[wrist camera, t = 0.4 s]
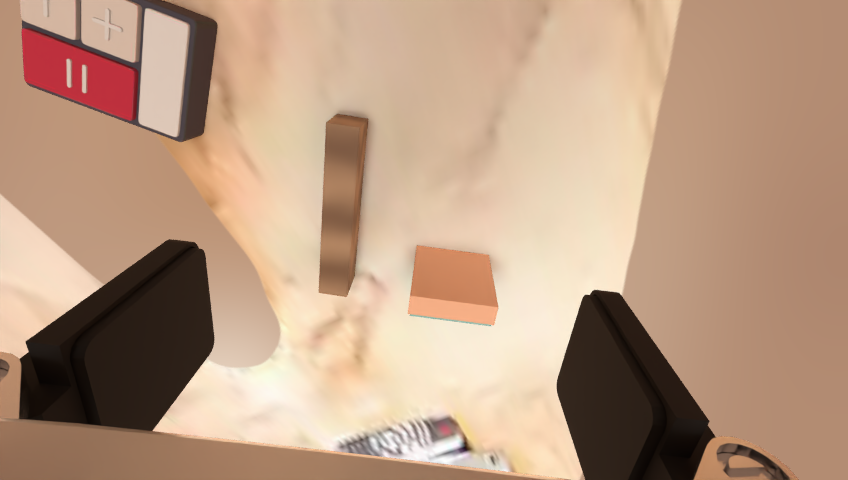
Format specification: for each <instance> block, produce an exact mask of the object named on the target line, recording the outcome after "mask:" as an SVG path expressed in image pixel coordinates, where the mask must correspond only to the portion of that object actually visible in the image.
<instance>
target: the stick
mask: <svg viewBox="0 0 848 480" xmlns="http://www.w3.org/2000/svg"><path fill="white" fill-rule="evenodd" d="M367 125H368V119H366V118H359V117H353V116H347V115H340V114H337V115H335V116H334V117H333V118H332V119H330V120H329V121H328V122H326V139H325V162H324V185H323V207H322V230H321V253H320V275H319V293H324V294H331V295H337V296H344V297H347V295H348V292H349V290H350V287H351V284H352V282H353V279H354V276H355V264H356V253H357V241H358V229H359V218H360V206H361V194H362V183H363V171H364V159H365V148H366V136H367Z"/></svg>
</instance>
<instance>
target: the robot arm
mask: <svg viewBox="0 0 848 480" xmlns="http://www.w3.org/2000/svg"><path fill="white" fill-rule="evenodd" d="M26 345H27V348H28V351H29V352H28V353H27V354H26V355H24V356H23V357H22V358H20V359H19V358H18V357H16V356H14V355H13V354H10V353H4V352H0V480H569V479H562V478H554V477H546V476H538V475H529V474H521V473H513V472H505V471H496V470H488V469H480V468H471V467H463V466H455V465H447V464H438V463H430V462H422V461H413V460H404V459H396V458H387V457H379V456H370V455H361V454H353V453H344V452H335V451H326V450H318V449H309V448H300V447H291V446H283V445H274V444H265V443H256V442H246V441H237V440H228V439H219V438H210V437H200V436H191V435H182V434H173V433H164V432H155V431H153V429H154V428H155V427H156V425H157V424H158V423H159V421H160V420H161V419H162V417H163V416H164V415H165V413H166V412H167V411H168V409H169V408H170V407H171V405H172V404H173V403H174V401H175V400H176V399H177V397H178V396H179V395H180V393H181V392H182V391H183V389H184V388H185V387H186V385H187V384H188V382H189V381H190V380H191V378H192V377H193V376H194V374H195V373H196V372H197V370H198V369H199V368H200V366H201V365H202V364H203V362H204V361H205V360H206V358H207V357H208V356H209V354H210V353H211V351H212V349H213V345H214V332H213V321H212V313H211V303H210V294H209V285H208V276H207V268H206V257H205V253H204V251H203V250H202V249H199V248H198V246H197V244H196V243H195V242H188V241H180V240H170V239H169V240H167V241H165V242H164V243H163V244H161V245H160V246H158V247H157V248H156V249H154V250H153V251H151V252H150V253H149V254H147V255H146V256H144V257H143V258H142V259H141V260H139V261H137V262H136V263H135V264H133V265H132V266H131V267H129V268H128V269H126V270H125V271H124V272H122V273H121V274H119V275H118V276H117V277H115V278H114V279H112V280H111V281H110V282H108V283H107V284H105V285H104V286H103V287H101V288H100V289H98V290H97V291H96V292H94V293H93V294H91V295H90V296H89V297H87V298H86V299H84V300H83V301H82V302H80V303H79V304H77V305H76V306H75V307H73V308H72V309H70V310H69V311H68V312H66V313H65V314H64V315H62V316H61V317H59V318H58V319H57V320H55V321H54V322H52V323H51V324H50V325H48V326H47V327H45V328H44V329H43V330H41V331H40V332H38V333H37V334H36V335H34V336H33V337H31V338H30V339H29V340H27V341H26ZM557 393H558V397H559V400H560V403H561V406H562V409H563V412H564V415H565V418H566V422H567V425H568V428H569V431H570V434H571V437H572V440H573V443H574V446H575V449H576V452H577V455H578V459H579V462H580V465H581V468H582V471H583V474H584V477H585V480H799V479H798V478H797V477H796V476H795V474H794V473H793V472H792V471H791V470H790V469H789V468H788V467H787V466H786V465H785V464H784V463H782V462H781V461H780V460H779V459H778V458H776V457H775V456H774V455H772V454H770V453H769V452H767V451H766V450H764V449H762V448H761V447H759V446H757V445H755V444H752V443H750V442H748V441H745V440H742V439H738V438H735V437H727V436H720V437H715V435H714V434H713V432H712V431H711V430H710V428H709V427H708V423H709V420H708V419H707V417H706V416H705V414H704V413H703V411H702V410H701V409H700V407H699V406H698V404H697V403H696V402H695V400H694V399H693V397H692V396H691V394H690V393H689V392H688V390H687V389H686V387H685V386H684V384H683V383H682V381H681V380H680V379H679V377H678V376H677V374H676V373H675V371H674V370H673V369H672V367H671V366H670V364H669V363H668V362H667V360H666V359H665V357H664V356H663V354H662V353H661V352H660V350H659V349H658V347H657V346H656V344H655V343H654V342H653V340H652V339H651V337H650V336H649V334H648V333H647V331H646V330H645V329H644V327H643V326H642V324H641V323H640V321H639V320H638V319H637V317H636V316H635V314H634V313H633V312H632V310H631V309H630V307H629V306H628V304H627V303H626V302H625V300H624V299H623V297H622V296H621V295H620V294H619V293H617V292H608V291H600V290H594V291H592V293H591V294H590V295H585V296H584V297H583V299H582V302H581V305H580V308H579V311H578V315H577V318H576V321H575V324H574V327H573V331H572V334H571V337H570V340H569V343H568V347H567V350H566V353H565V356H564V360H563V363H562V366H561V369H560V372H559V376H558V379H557Z"/></svg>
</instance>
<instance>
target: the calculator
mask: <svg viewBox="0 0 848 480" xmlns="http://www.w3.org/2000/svg"><path fill="white" fill-rule="evenodd" d="M20 11H21V18H22V46H23V65H24V79H25V81H26V83H27V84H28V85H29V86H32V87H34V88H37V89H39V90H42V91H45V92H48V93H50V94H53V95H56V96H58V97H61V98H63V99H66V100H69V101H72V102H74V103H77V104H79V105H82V106H85V107H88V108H90V109H93V110H96V111H98V112H101V113H104V114H106V115H109V116H112V117H115V118H117V119H120V120H122V121H125V122H128V123H130V124H133V125H136V126H139V127H141V128H144V129H147V130H149V131H152V132H155V133H157V134H160V135H163V136H165V137H168V138H171V139H173V140H176V141H179V142H183V141H186V140H189V139H192V138H194V137H197V136H200V135H202V134H203V133H204V126H205V119H206V111H207V103H208V96H209V88H210V80H211V73H212V65H213V57H214V50H215V42H216V34H217V23H216V22H215V21H214V20H213V19H210V18H208V17H205V16H202V15H200V14H197V13H195V12H192V11H189V10H187V9H184V8H182V7H179V6H176V5H174V4H171V3H168V2H164V1H162V0H20Z"/></svg>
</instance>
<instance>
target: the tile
mask: <svg viewBox="0 0 848 480" xmlns="http://www.w3.org/2000/svg"><path fill="white" fill-rule="evenodd" d="M497 311H498V303H497V298H496V292H495V287H494V281H493V276H492V270H491V265H490V260H489V255H485V254H477V253H470V252H462V251H455V250H447V249H440V248H432V247H425V246H417V249H416V256H415V264H414V271H413V279H412V286H411V293H410V301H409V308H408V314H410V316H417V317H424V318H432V319H440V320H447V321H455V322H463V323H470V324H478V325H486V326H491V325H494V323H495V319H496V315H497Z"/></svg>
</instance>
